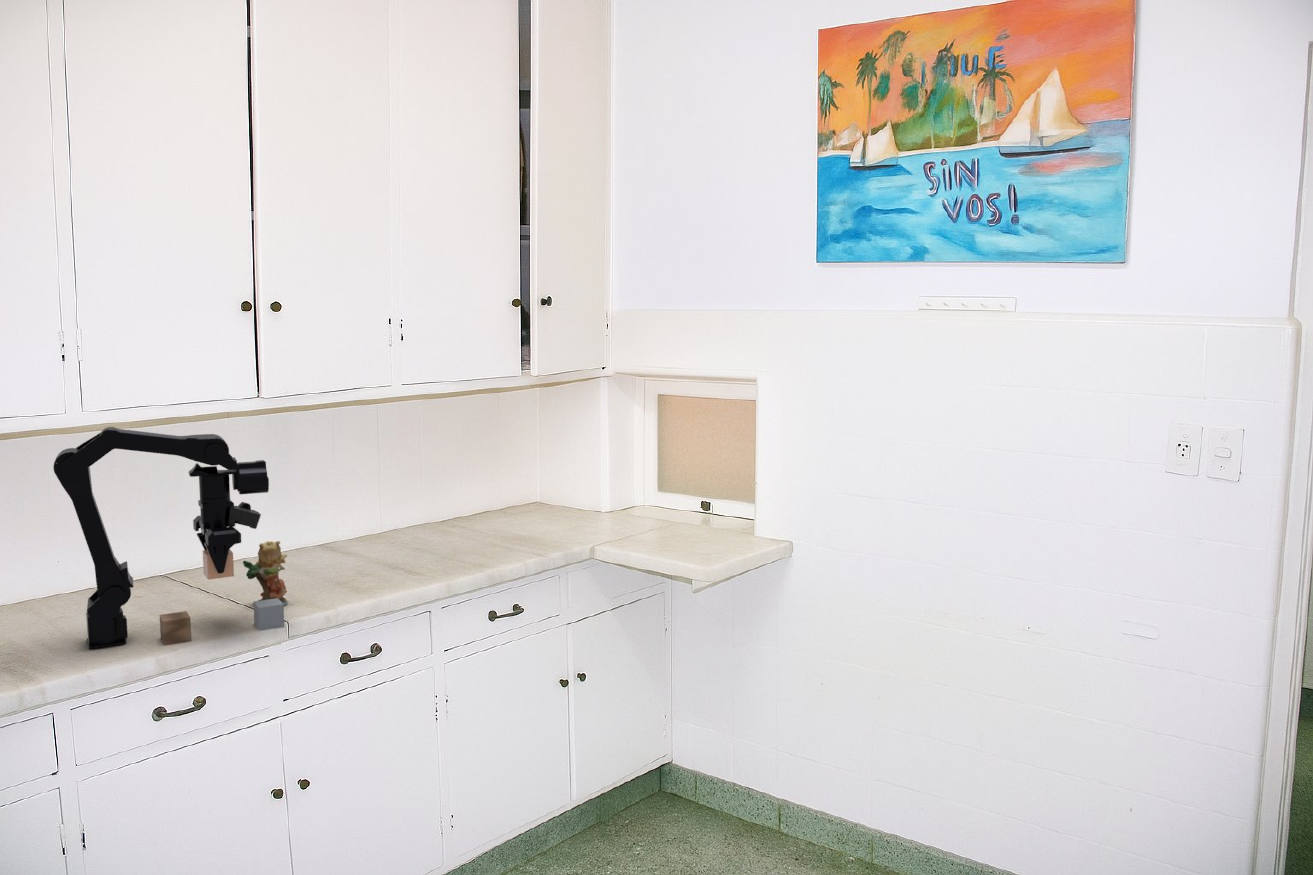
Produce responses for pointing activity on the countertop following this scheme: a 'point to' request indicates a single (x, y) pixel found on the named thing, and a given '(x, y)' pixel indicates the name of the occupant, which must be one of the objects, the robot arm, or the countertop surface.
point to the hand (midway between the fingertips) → (218, 570)
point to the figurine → (269, 571)
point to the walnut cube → (175, 628)
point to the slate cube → (268, 614)
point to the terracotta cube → (211, 570)
